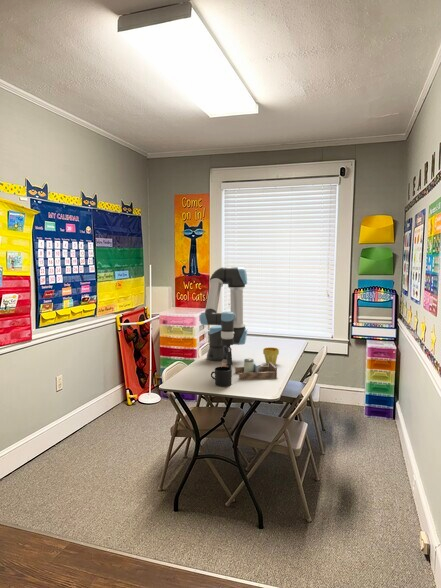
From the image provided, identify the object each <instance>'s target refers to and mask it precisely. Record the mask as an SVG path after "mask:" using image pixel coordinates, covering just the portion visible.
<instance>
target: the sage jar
mask: <svg viewBox="0 0 441 588" xmlns="http://www.w3.org/2000/svg"><path fill="white" fill-rule="evenodd" d="M254 361H255V360H254V358H244V360H243V367H244V373H254Z"/></svg>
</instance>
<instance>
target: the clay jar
mask: <svg viewBox="0 0 441 588" xmlns="http://www.w3.org/2000/svg"><path fill="white" fill-rule="evenodd" d="M226 364H227V359H225V360H222V361H221V367H227V366H226ZM232 376H233V375H232ZM232 376H231V378H233V377H232Z"/></svg>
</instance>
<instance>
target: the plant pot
mask: <svg viewBox="0 0 441 588" xmlns="http://www.w3.org/2000/svg"><path fill="white" fill-rule="evenodd" d="M262 351H263V352H262V353H263V355H264V359H265V364H267V365H269V362H271V363H272V364H273V365H275V364H277V359H278V355H279V353H280V349H279V347H278V348H277V347H272V346H271V347H264V348H263V350H262Z"/></svg>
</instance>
